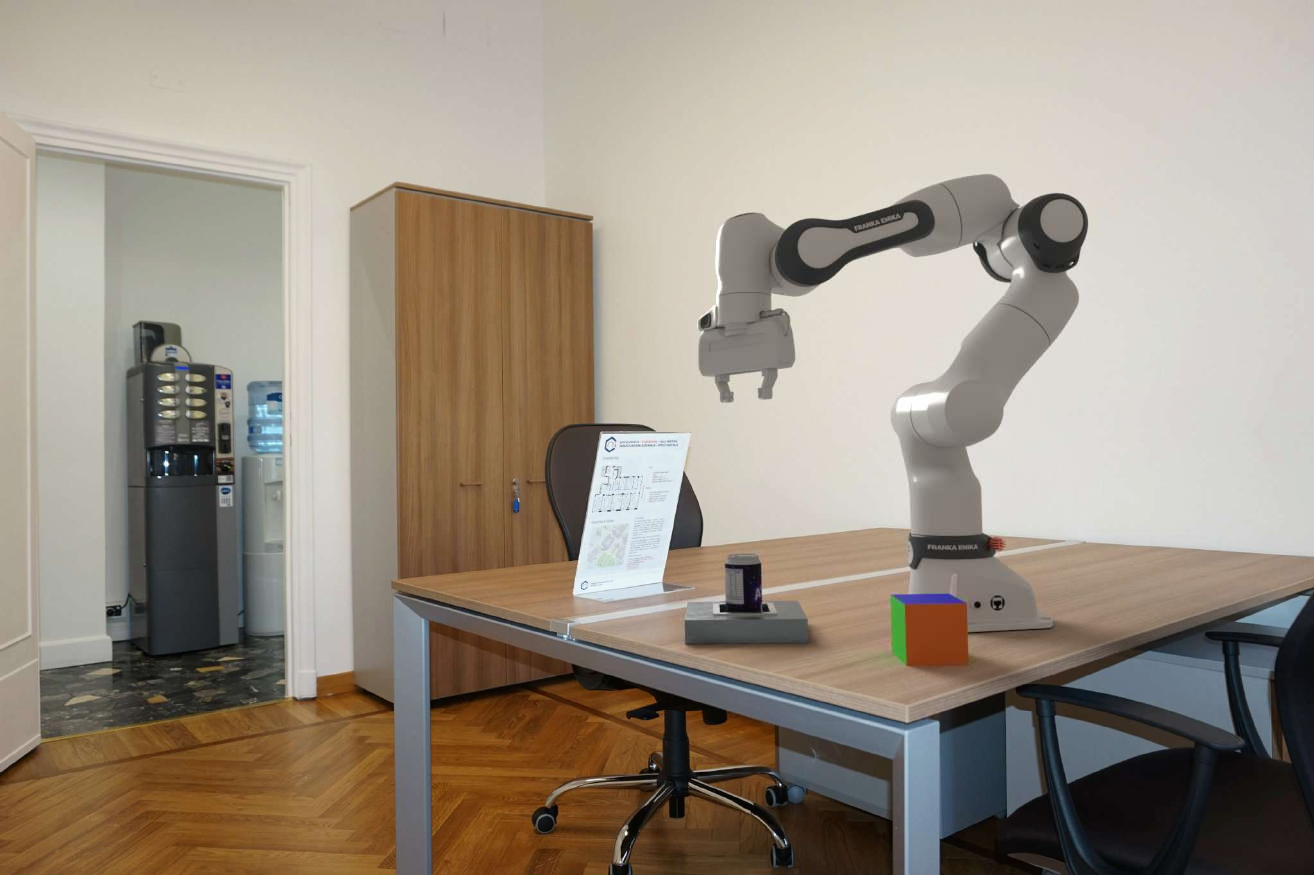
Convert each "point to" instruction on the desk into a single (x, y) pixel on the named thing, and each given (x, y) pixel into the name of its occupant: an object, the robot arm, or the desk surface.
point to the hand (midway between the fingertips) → (745, 401)
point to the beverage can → (743, 583)
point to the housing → (745, 624)
